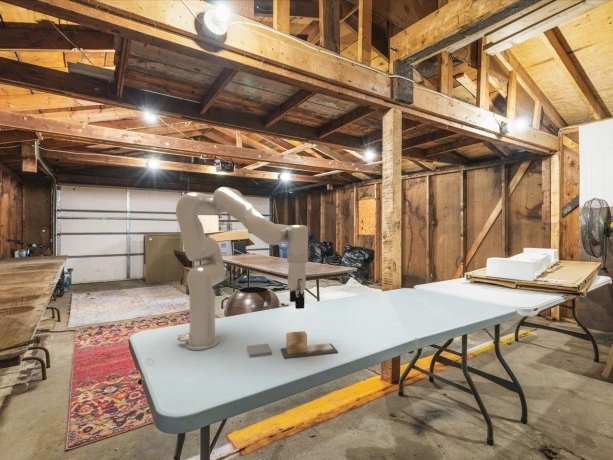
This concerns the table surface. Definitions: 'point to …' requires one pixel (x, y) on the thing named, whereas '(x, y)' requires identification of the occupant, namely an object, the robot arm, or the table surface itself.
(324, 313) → the table surface
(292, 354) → the mat
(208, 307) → the robot arm
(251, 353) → the tile
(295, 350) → the tan stepped block piece
